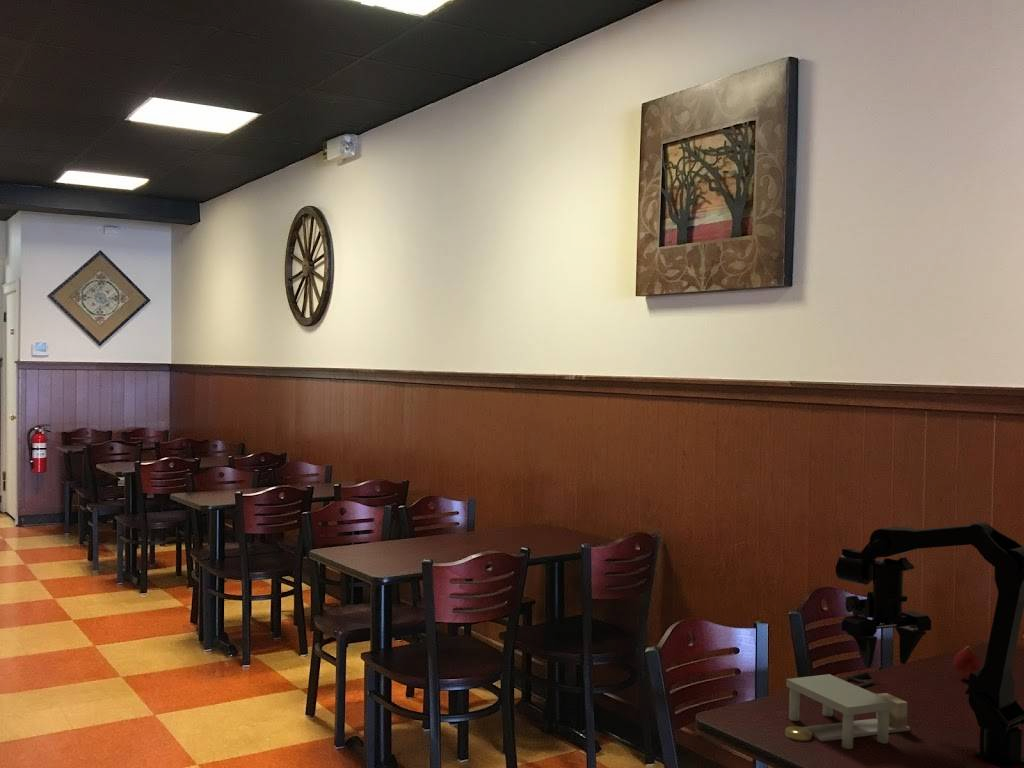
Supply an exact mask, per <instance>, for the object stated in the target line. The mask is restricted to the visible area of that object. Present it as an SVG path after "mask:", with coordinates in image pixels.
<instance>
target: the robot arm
mask: <svg viewBox="0 0 1024 768" xmlns="http://www.w3.org/2000/svg"><path fill="white" fill-rule="evenodd" d="M968 545H969V546H970V545H971V546H973V548H975V549H976V550H977V551H978V552H979V554H980V555H981V556H982V558H983V559H984V560H985V561H986V562H988V563H989V564H990V565H992V566H993V567H994V575H993V577H994V582H995V586H996V590H997V598H996V603H995V609H994V614H993V618H992V624H991V629H990V632H989V634H990V635H989V639H988V645H987V649H986V655H985V659H984V664H983V667H981V668H980V670H978V671H975V672H972V673H970V676H969V680H968V687H967V689H966V691H965V692H964V694H965V695H967V703H968V706H969V707H970V708H971V710H972V711H973V713H974V715H975V718H976V721H977V724H978V727H979V750H976V751H974V755H975V756H977V757H980V758H982V759H984V760H986V761H988V762H990V763H993V764H995V765H996V766H997V765H998V766H999V767H1003V768H1005V767H1011V766H1017V765H1022V764H1023V765H1024V757H1022V749H1023V748H1022V747H1023V746H1022V745H1023V741H1022V740H1023V730H1022V729H1020V727H1019V726H1023V725H1024V709H1023V707H1022V706H1021V704H1019V702H1018V701H1017V700H1016V699H1015V697H1016V696H1015V695H1016V693H1015V692H1016V691H1015V690H1016V688H1015V687H1016V685H1015V679H1014V677H1013V673H1012V669H1013V664H1014V659H1015V654H1016V649H1017V644H1018V639H1019V633H1020V627H1021V623H1022V618H1023V614H1024V546H1023V545H1022V544H1020V543H1019V542H1018V541H1016V540H1015V539H1013V538H1012V537H1011V538H1010V537H1009V536H1007V535H1005V534H1004V533H1002V532H999V530H997V529H996V528H994V527H993V526H992V525H990V524H988V523H987V522H977V523H972V524H968V525H955V526H944V527H936V528H935V527H934V528H933V527H932V528H925V529H923V528H922V529H920V528H915V527H908V526H907V527H904V526H888V527H883V528H876V529H874V530H873V531H872V533H871V534H870V536H869V541H868V543H867V544H866V545H865V546H864V547H863V549H862V550H861V551H860V550H856V549H853V548H849V547H845V548H842V550H841V555H840V556H839V557H838V559H837V562H836V565H835V574H836V577H837V579H838V580H841V581H844V582H851V583H854V584H855V583H856V584H860V585H866V586H867V585H869V584H870V583H872V591H868V592H867V595H866V598H865V599H864V598H863V599H860V597H858V596H857V595H849V596H846V597H845V611H846V612H847V613H852V615H849V616H844V617H843V619H841V631H844V632H846V634H847V635H849V636H852V638H853V639H854V641H856V644H857V647H858V649H859V652H860V654H861V659H862V662H863V665H864V667H865V668H867V669H871V667H872V663H873V660H874V656H875V650H876V646H877V640H878V637H877V636H875V635H876V633H877V632H878V630H880V629H881V630H883V629H892V628H895V629H896V632H897V633H898V636H899V637H898V638H899V663H900V664H902V665H905V664H907V662H908V660H909V658H910V657H911V655H912V653H913V651H914V650H915V649H916V647H917V645H918V644H919V643H920V641H921V639H923V637H924V636H926V635H927V631H932V619H931V618H930V617H929V615H927V614H924V613H921V612H917V611H914V610H906V611H903V602H904V603H905V602H908V596H907V595H904V589H903V588H904V572H907V571H912V570H914V569H915V565H913V563H911V562H910V561H909V560H908V558H907V557H906V556H905V557H899V558H898V559H895V558H894V559H893V558H889V557H893V556H899V555H903V554H905V553H910V552H915V551H916V550H917V551H918V550H919V549H931V548H945V547H946V548H947V547H956V546H957V547H958V546H968ZM887 557H888V558H887ZM880 558H883V559H882V561H880V560H876V559H880ZM869 618H871V619H869Z"/></svg>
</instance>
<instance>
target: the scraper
mask: <svg viewBox="0 0 1024 768" xmlns="http://www.w3.org/2000/svg"><path fill="white" fill-rule="evenodd" d="M876 694H877V695H879V696H882V697H884V698H886V699H889V700H891V701H893V709H891V710H889V733H888V734H892V733H899V732H909V731H910V730H911V729H910V728H911V727H910V726H908V701H906V700H903V699H901V698H899V697H897V696H894V695H893V694H890V693H887V692H884V693H883V692H882V693H876ZM842 723H843V721H842V722H841V721H840V722H834V723H824V724H818V725H817V724H816V725H809V726H808V725H807V726H803V727H804V728H807V729H809V730H811V731H812V737H814V738H815V739H817V740H819V741H820V742H827V741H836V740H842ZM877 729H878V711H877V712H875V717H874V718H867V719H861V720H860V719H859V720H854V729H853V738H860V737H867V736H875V735H876V736H877Z"/></svg>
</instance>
